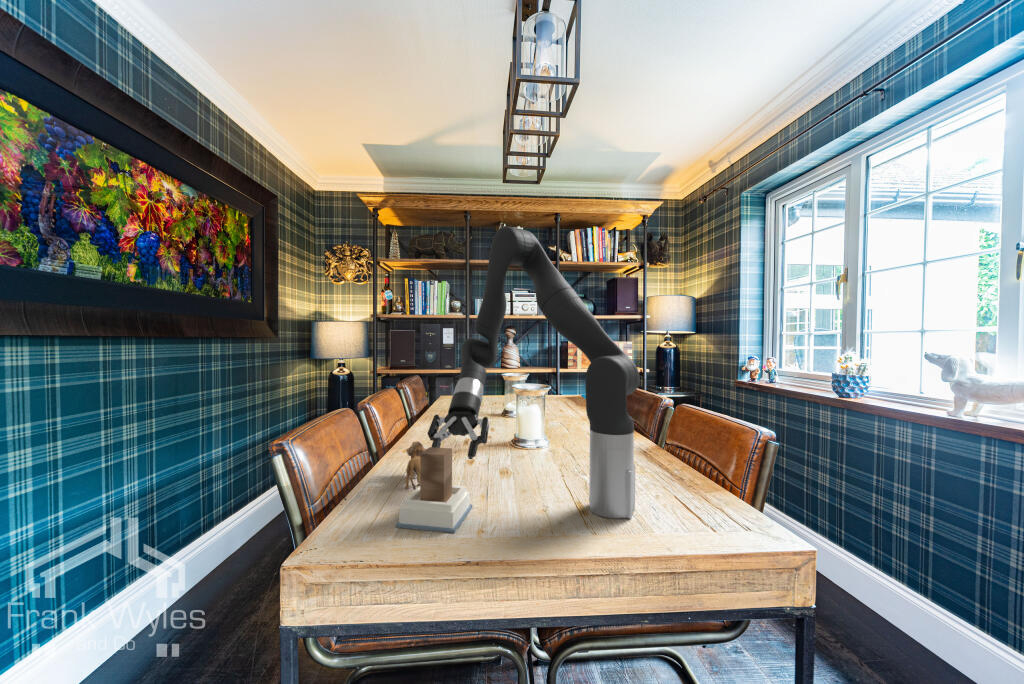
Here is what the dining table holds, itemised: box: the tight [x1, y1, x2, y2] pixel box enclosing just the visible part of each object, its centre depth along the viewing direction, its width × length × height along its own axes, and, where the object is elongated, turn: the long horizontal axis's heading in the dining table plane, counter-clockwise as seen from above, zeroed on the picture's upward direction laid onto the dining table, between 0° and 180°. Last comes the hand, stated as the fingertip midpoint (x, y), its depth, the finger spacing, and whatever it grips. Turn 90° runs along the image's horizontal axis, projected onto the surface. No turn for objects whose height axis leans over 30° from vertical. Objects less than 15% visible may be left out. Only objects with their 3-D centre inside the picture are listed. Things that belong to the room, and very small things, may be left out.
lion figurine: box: [404, 441, 426, 491], centre depth 105 cm, size 15×5×9 cm, turn 13°
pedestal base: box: [395, 485, 474, 534], centre depth 84 cm, size 12×12×5 cm
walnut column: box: [419, 446, 453, 502], centre depth 84 cm, size 5×5×10 cm
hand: (452, 456), depth 94 cm, fingers open, 8 cm apart
